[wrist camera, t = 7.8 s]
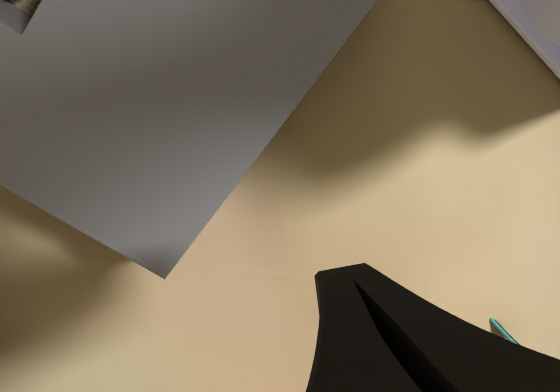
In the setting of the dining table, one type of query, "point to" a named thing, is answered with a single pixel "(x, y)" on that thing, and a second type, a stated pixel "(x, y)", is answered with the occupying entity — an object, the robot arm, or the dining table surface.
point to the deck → (153, 107)
